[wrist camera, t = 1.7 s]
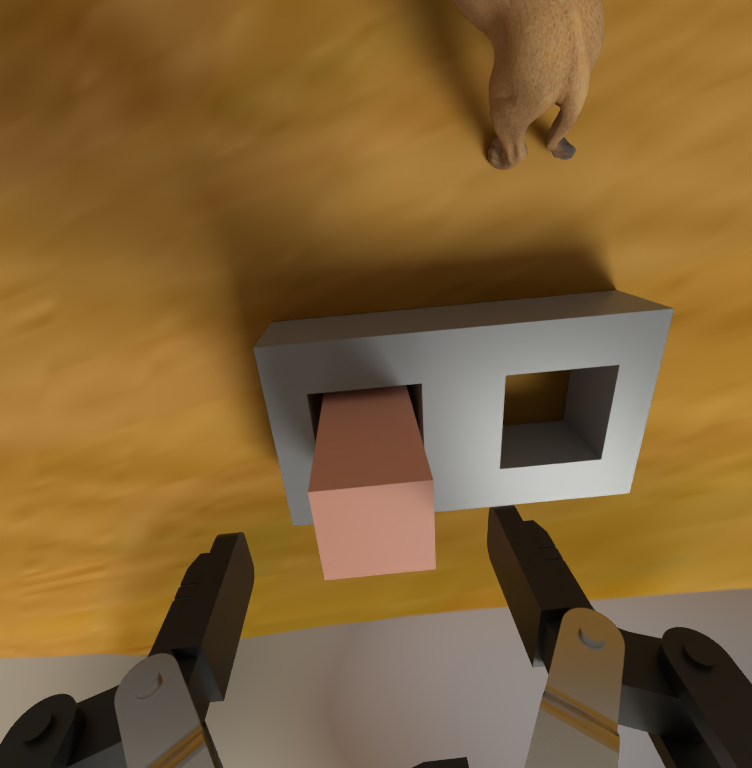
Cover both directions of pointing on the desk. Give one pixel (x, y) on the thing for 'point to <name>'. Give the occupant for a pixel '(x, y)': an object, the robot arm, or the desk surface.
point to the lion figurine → (536, 67)
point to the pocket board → (478, 391)
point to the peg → (371, 486)
